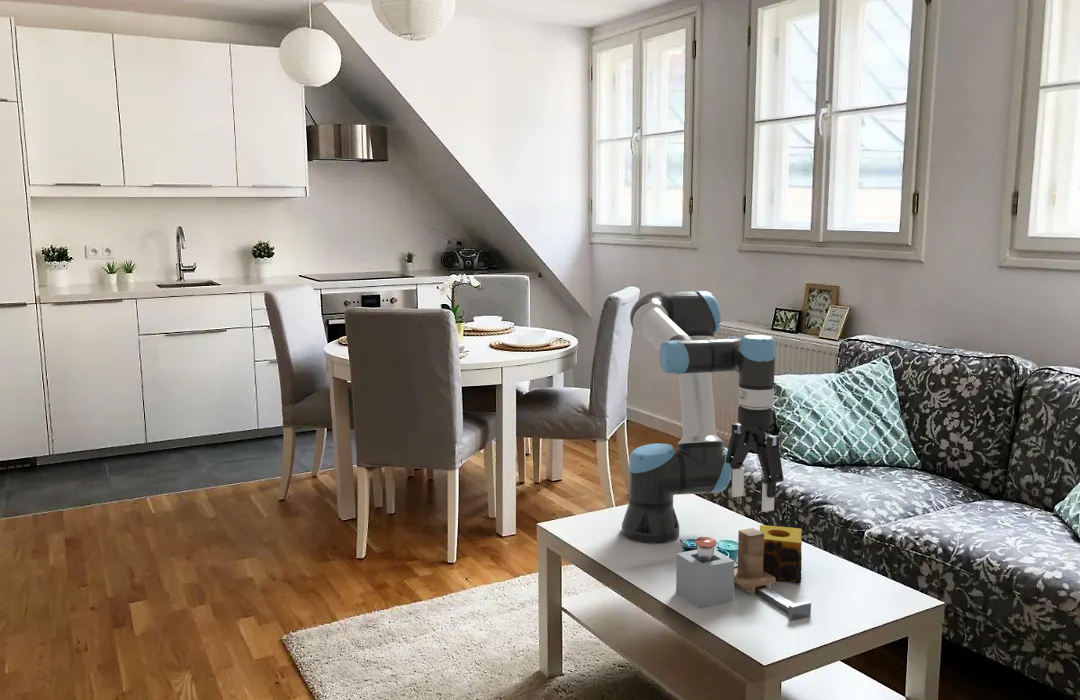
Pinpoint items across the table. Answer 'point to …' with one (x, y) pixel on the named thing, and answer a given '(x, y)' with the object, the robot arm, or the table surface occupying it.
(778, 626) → the table surface
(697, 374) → the robot arm
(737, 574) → the carriage
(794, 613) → the rail
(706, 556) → the plunger
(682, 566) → the housing
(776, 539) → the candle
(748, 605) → the table surface
